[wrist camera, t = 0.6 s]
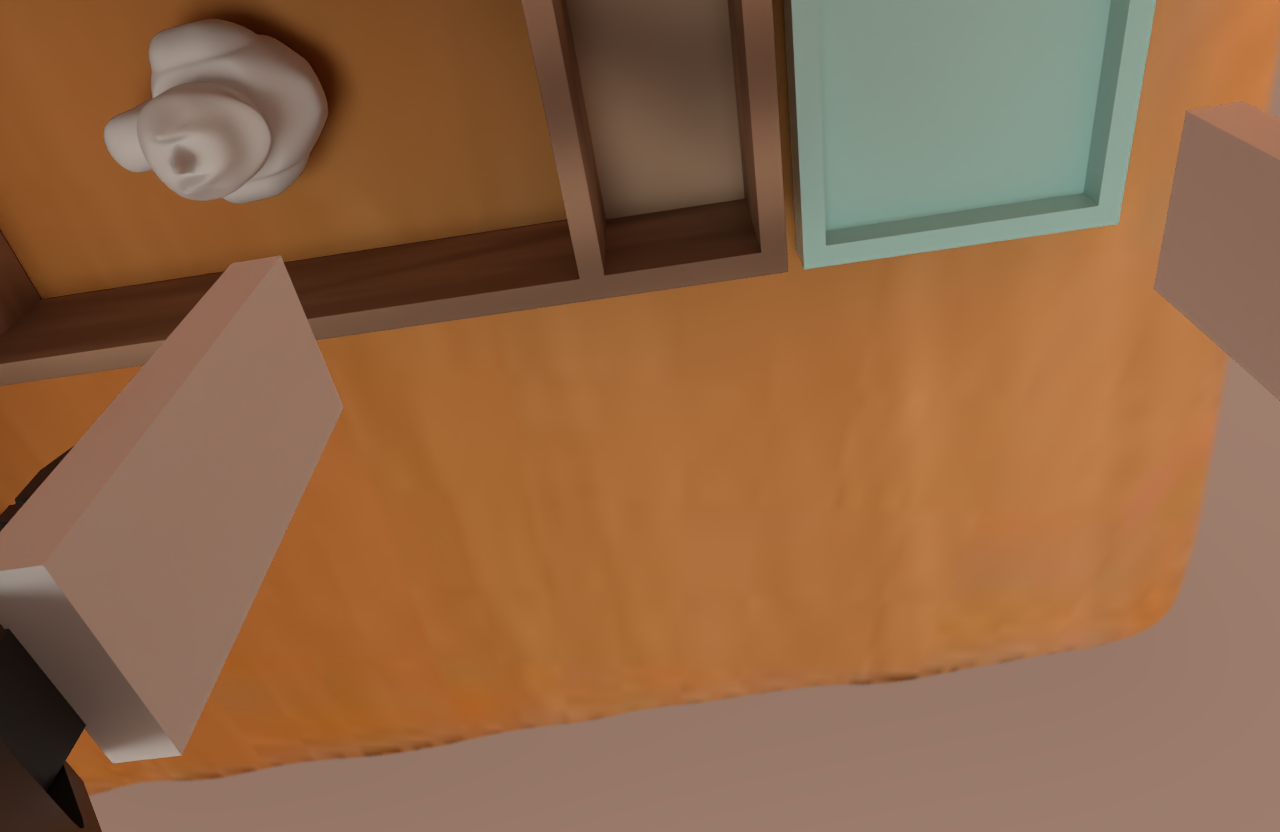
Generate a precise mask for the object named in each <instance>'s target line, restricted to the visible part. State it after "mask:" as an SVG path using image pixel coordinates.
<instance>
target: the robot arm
mask: <svg viewBox="0 0 1280 832" xmlns="http://www.w3.org/2000/svg"><path fill="white" fill-rule="evenodd" d="M1154 289H1155V290H1156V291H1157V292H1158V293H1159V294H1160V295H1162V296H1163V297H1164V298H1165V299H1166V300H1167V301H1168V302H1169V303H1171V304H1172V305H1173V306H1174V307H1175V308H1176V309H1177V310H1178V311H1180V312H1181V313H1182V314H1183V315H1184V316H1185V317H1186V318H1187V319H1189V320H1190V321H1191V322H1192V323H1193V324H1194V325H1195V326H1196V327H1198V328H1199V329H1200V330H1201V331H1202V332H1203V333H1204V334H1205V335H1207V336H1208V337H1209V338H1210V339H1211V340H1212V341H1213V342H1214V343H1216V344H1217V345H1218V346H1219V347H1220V348H1221V349H1222V350H1223V351H1225V352H1226V353H1227V354H1228V355H1229V356H1230V357H1231V358H1232V359H1234V360H1235V361H1236V362H1237V363H1238V364H1239V365H1240V366H1241V367H1243V368H1244V369H1245V370H1246V371H1247V372H1248V373H1250V375H1252V376H1253V377H1254V378H1255V379H1256V380H1257V381H1258V382H1259V383H1261V384H1262V385H1263V386H1264V387H1265V388H1266V389H1267V390H1268V391H1270V392H1271V393H1272V394H1273V395H1274V396H1275V397H1276V398H1277V399H1278V400H1280V118H1278V117H1275V116H1273V115H1271V114H1269V113H1267V112H1265V111H1262V110H1260V109H1258V108H1256V107H1254V106H1252V105H1249V104H1247V103H1245V102H1238V103H1232V104H1225V105H1219V106H1213V107H1207V108H1200V109H1194V110H1188V111H1186V114H1185V120H1184V125H1183V131H1182V136H1181V142H1180V147H1179V153H1178V158H1177V164H1176V169H1175V175H1174V180H1173V186H1172V191H1171V197H1170V202H1169V208H1168V213H1167V219H1166V224H1165V230H1164V235H1163V241H1162V246H1161V252H1160V257H1159V263H1158V268H1157V274H1156V279H1155V285H1154ZM342 409H343V404H342V402H341V400H340V397H339V395H338V392H337V390H336V388H335V385H334V383H333V380H332V378H331V376H330V373H329V371H328V368H327V366H326V363H325V361H324V359H323V356H322V354H321V351H320V349H319V347H318V344H317V342H316V339H315V337H314V334H313V332H312V330H311V327H310V325H309V322H308V320H307V318H306V315H305V313H304V310H303V308H302V306H301V303H300V301H299V298H298V296H297V293H296V291H295V289H294V286H293V284H292V281H291V279H290V277H289V274H288V272H287V269H286V267H285V264H284V262H283V260H282V257H281V255H280V256H274V257H268V258H261V259H255V260H249V261H243V262H236V263H232V264H231V265H230V266H229V267H228V268H227V269H226V271H225V272H224V273H223V274H222V275H221V276H220V278H219V279H218V280H217V281H216V282H215V283H214V284H213V286H212V287H211V288H210V289H209V290H208V291H207V293H206V294H205V295H204V296H203V297H202V298H201V300H200V301H199V302H198V303H197V304H196V305H195V307H194V308H193V309H192V310H191V311H190V312H189V313H188V315H187V316H186V317H185V318H184V319H183V320H182V322H181V323H180V324H179V325H178V326H177V327H176V329H175V330H174V331H173V332H172V333H171V334H170V336H169V337H168V338H167V339H166V340H165V341H164V342H163V344H162V345H161V346H160V347H159V348H158V349H157V351H156V352H155V353H154V354H153V355H152V356H151V358H150V359H149V360H148V361H147V362H146V363H145V365H144V366H143V367H142V368H141V369H140V370H139V371H138V373H137V374H136V375H135V376H134V377H133V378H132V380H131V381H130V382H129V383H128V384H127V385H126V387H125V388H124V389H123V390H122V391H121V392H120V394H119V395H118V396H117V397H116V398H115V399H114V400H113V402H112V403H111V404H110V405H109V406H108V407H107V409H106V410H105V411H104V412H103V413H102V414H101V416H100V417H99V418H98V419H97V420H96V421H95V423H94V424H93V425H92V426H91V427H90V428H89V429H88V431H87V432H86V433H85V434H84V435H83V436H82V438H81V439H80V440H79V441H78V442H77V443H76V445H74V446H73V447H72V448H70V449H69V450H68V451H66V452H65V453H63V454H62V455H61V456H59V457H58V458H57V459H55V460H54V461H52V462H51V463H50V464H48V465H47V466H46V467H44V468H43V469H41V470H40V471H39V472H38V474H37V475H36V476H35V477H34V478H33V479H32V480H31V481H30V483H29V484H28V485H27V486H26V487H25V488H24V489H23V491H22V492H21V493H20V494H19V495H18V496H17V497H16V498H15V501H16V504H14V505H9V506H8V508H7V509H6V510H5V511H4V512H3V513H2V514H1V515H0V832H102V831H101V828H100V826H99V823H98V820H97V818H96V815H95V812H94V810H93V807H92V804H91V802H90V799H89V796H88V793H87V791H86V788H85V785H84V783H83V781H82V779H81V778H80V777H79V776H78V775H77V774H76V772H75V771H74V770H73V769H72V768H71V767H70V765H69V764H68V763H67V762H66V761H65V760H66V759H67V757H68V755H69V753H70V752H71V750H72V748H73V747H74V745H75V743H76V742H77V740H78V738H79V736H80V735H81V733H82V731H83V730H84V728H85V730H86V731H87V732H88V733H89V735H90V736H91V737H92V738H93V740H94V741H95V742H96V743H97V745H98V746H99V747H100V748H101V749H102V751H103V752H104V753H105V754H106V756H107V757H108V758H109V759H110V761H111V762H112V763H121V762H129V761H138V760H146V759H155V758H163V757H171V756H180V755H182V754H183V751H184V749H185V747H186V745H187V743H188V741H189V738H190V736H191V734H192V732H193V730H194V728H195V726H196V723H197V721H198V719H199V717H200V715H201V713H202V710H203V708H204V706H205V704H206V702H207V700H208V698H209V695H210V693H211V691H212V689H213V687H214V685H215V683H216V680H217V678H218V676H219V674H220V672H221V670H222V667H223V665H224V663H225V661H226V659H227V657H228V655H229V652H230V650H231V648H232V646H233V644H234V642H235V640H236V637H237V635H238V633H239V631H240V629H241V627H242V624H243V622H244V620H245V618H246V616H247V614H248V612H249V609H250V607H251V605H252V603H253V601H254V599H255V596H256V594H257V592H258V590H259V588H260V586H261V584H262V581H263V579H264V577H265V575H266V573H267V571H268V569H269V566H270V564H271V562H272V560H273V558H274V556H275V553H276V551H277V549H278V547H279V545H280V543H281V541H282V538H283V536H284V534H285V532H286V530H287V528H288V526H289V523H290V521H291V519H292V517H293V515H294V513H295V510H296V508H297V506H298V504H299V502H300V500H301V498H302V495H303V493H304V491H305V489H306V487H307V485H308V483H309V480H310V478H311V476H312V474H313V472H314V470H315V467H316V465H317V463H318V461H319V459H320V457H321V455H322V452H323V450H324V448H325V446H326V444H327V442H328V439H329V437H330V435H331V433H332V431H333V429H334V427H335V424H336V422H337V420H338V418H339V416H340V414H341V412H342Z"/></svg>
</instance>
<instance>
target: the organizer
mask: <svg viewBox="0 0 1280 832" xmlns="http://www.w3.org/2000/svg"><path fill="white" fill-rule="evenodd" d="M521 1H522V6H523V11H524V15H525V20H526V25H527V30H528V35H529V39H530V44H531V49H532V54H533V58H534V63H535V68H536V73H537V77H538V82H539V87H540V92H541V97H542V101H543V106H544V111H545V116H546V120H547V125H548V130H549V135H550V139H551V144H552V149H553V154H554V159H555V163H556V168H557V173H558V178H559V182H560V187H561V192H562V197H563V201H564V206H565V211H566V216H567V220H564V221H557V222H550V223H544V224H537V225H530V226H524V227H517V228H511V229H504V230H497V231H491V232H484V233H478V234H471V235H464V236H458V237H451V238H445V239H438V240H431V241H425V242H418V243H412V244H405V245H398V246H392V247H385V248H379V249H372V250H365V251H359V252H352V253H345V254H339V255H332V256H326V257H319V258H312V259H306V260H299V261H293V262H286V263H284V264H285V267H286V269H287V272H288V274H289V277H290V279H291V281H292V284H293V286H294V289H295V291H296V293H297V296H298V298H299V301H300V303H301V306H302V308H303V310H304V313H305V315H306V318H307V320H308V322H309V325H310V327H311V330H312V332H313V334H314V337H315V339H316V340H321V339H327V338H334V337H341V336H348V335H355V334H362V333H369V332H376V331H383V330H390V329H397V328H403V327H410V326H417V325H424V324H431V323H438V322H445V321H452V320H459V319H466V318H473V317H479V316H486V315H493V314H500V313H507V312H514V311H521V310H528V309H535V308H542V307H549V306H555V305H562V304H569V303H576V302H583V301H590V300H597V299H604V298H611V297H618V296H625V295H631V294H638V293H645V292H652V291H659V290H666V289H673V288H680V287H687V286H694V285H701V284H707V283H714V282H721V281H728V280H735V279H742V278H749V277H756V276H763V275H770V274H777V273H783V272H788V259H787V242H786V226H785V209H784V192H783V176H782V159H781V142H780V126H779V109H778V92H777V75H776V59H775V42H774V25H773V9H772V0H521ZM223 273H224V272H220V273H213V274H207V275H200V276H193V277H187V278H180V279H174V280H167V281H160V282H154V283H147V284H141V285H134V286H127V287H121V288H114V289H108V290H101V291H94V292H88V293H81V294H75V295H68V296H61V297H55V298H48V299H41V298H40V296H39V294H38V293H37V291H36V289H35V288H34V286H33V284H32V283H31V281H30V280H29V278H28V276H27V275H26V273H25V271H24V270H23V268H22V266H21V265H20V263H19V261H18V260H17V258H16V256H15V255H14V253H13V251H12V250H11V248H10V246H9V245H8V243H7V242H6V240H5V238H4V237H3V235H2V233H1V232H0V386H3V385H10V384H17V383H23V382H30V381H37V380H44V379H51V378H58V377H65V376H72V375H79V374H86V373H93V372H99V371H106V370H113V369H120V368H127V367H134V366H141V365H145V363H146V362H147V361H148V360H149V359H150V358H151V356H152V355H153V354H154V353H155V352H156V351H157V349H158V348H159V347H160V346H161V345H162V344H163V342H164V341H165V340H166V339H167V338H168V337H169V336H170V334H171V333H172V332H173V331H174V330H175V329H176V327H177V326H178V325H179V324H180V323H181V322H182V320H183V319H184V318H185V317H186V316H187V315H188V313H189V312H190V311H191V310H192V309H193V308H194V307H195V305H196V304H197V303H198V302H199V301H200V300H201V298H202V297H203V296H204V295H205V294H206V293H207V291H208V290H209V289H210V288H211V287H212V286H213V284H214V283H215V282H216V281H217V280H218V279H219V278H220V276H221V275H222V274H223Z"/></svg>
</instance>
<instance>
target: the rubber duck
mask: <svg viewBox="0 0 1280 832" xmlns="http://www.w3.org/2000/svg"><path fill="white" fill-rule="evenodd" d="M149 60H150V65H151V69H152V76H151V90H152V97H153V98H152V99H150V100H147V101H145V102H143V103H142V104H140V105H138V106H137V107H135V108H133V109H130V110H128V111H126V112H124V113H121V114H119V115H117V116H115V117H113V118H112V119H111V120H110V121H109V122H108V123H107V124H106V126H105V129H104V141H105V145H106V147H107V149H108V151H109V153H110V154H111V155H112V157H113V158H114V159H115V160H116V161H117V163H118V164H120V165H121V166H122V167H124V168H125V169H127V170H129V171H132V172H138V173H139V172H145V171H150V170H153V171H154V172H155V174H156V175H157V176H158V177H159V178H160V180H161V181H162V182H163V183H164V184H166V185H167V186H168V187H169V188H170V189H171V190H172V191H174V192H175V193H177V194H178V195H180V196H182V197H184V198H187V199H190V200H198V201H205V200H213V199H219V198H223V199H225V200H227V201H229V202H232V203H237V204H241V203H248V202H252V201H257V200H261V199H265V198H270V197H273V196H276V195H278V194H280V193H282V192H283V191H284V190H286V189H287V188H288V187H289V186H290V185H291V184H292V183H293V182H294V181H295V180H296V179H297V178H298V176H299V175H300V174H301V173H302V171H303V170H304V169H305V167H306V164H307V161H308V159H309V155H310V152H311V150H312V149H313V147H314V145H315V143H316V142H317V140H318V138H319V136H320V134H321V132H322V129H323V127H324V125H325V122H326V119H327V117H328V105H327V99H326V96H325V93H324V91H323V89H322V86H321V84H320V82H319V79H318V78H317V76H316V74H315V72H314V71H313V69H312V67H311V66H310V64H309V63H308V62H307V61H306V60H305V59H304V58H303V57H301V56H300V55H299V54H297V53H296V52H294V51H293V50H292V49H290V48H289V47H287V46H286V45H284V44H283V43H281V42H280V41H278V40H276V39H274V38H273V37H270V36H267V35H257V34H256V33H254V32H253V31H251V30H249V29H247V28H245V27H243V26H241V25H238V24H236V23H232V22H229V21H225V20H220V19H205V20H200V21H196V22H192V23H188V24H184V25H180V26H176V27H172V28H168V29H165V30H163V31H161V32H159V33H157V34H156V35H155V36H154V37H153V39H152V41H151V43H150V46H149Z"/></svg>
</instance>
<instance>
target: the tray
mask: <svg viewBox="0 0 1280 832" xmlns="http://www.w3.org/2000/svg"><path fill="white" fill-rule="evenodd" d="M783 5H784V24H785V43H786V61H787V80H788V99H789V118H790V137H791V155H792V174H793V193H794V212H795V231H796V249H797V252H798V255H799V257H800V260H801V262H802V265H803V268H804V269H811V268H818V267H825V266H832V265H839V264H846V263H852V262H859V261H866V260H873V259H880V258H887V257H894V256H901V255H908V254H915V253H922V252H928V251H935V250H942V249H949V248H956V247H963V246H970V245H977V244H984V243H991V242H998V241H1004V240H1011V239H1018V238H1025V237H1032V236H1039V235H1046V234H1053V233H1060V232H1067V231H1074V230H1080V229H1087V228H1094V227H1101V226H1108V225H1115V224H1119V218H1120V212H1121V206H1122V200H1123V194H1124V188H1125V182H1126V176H1127V171H1128V165H1129V159H1130V153H1131V147H1132V141H1133V135H1134V129H1135V124H1136V118H1137V112H1138V106H1139V100H1140V94H1141V88H1142V82H1143V76H1144V71H1145V65H1146V59H1147V53H1148V47H1149V41H1150V35H1151V29H1152V24H1153V18H1154V12H1155V6H1156V0H783Z"/></svg>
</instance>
